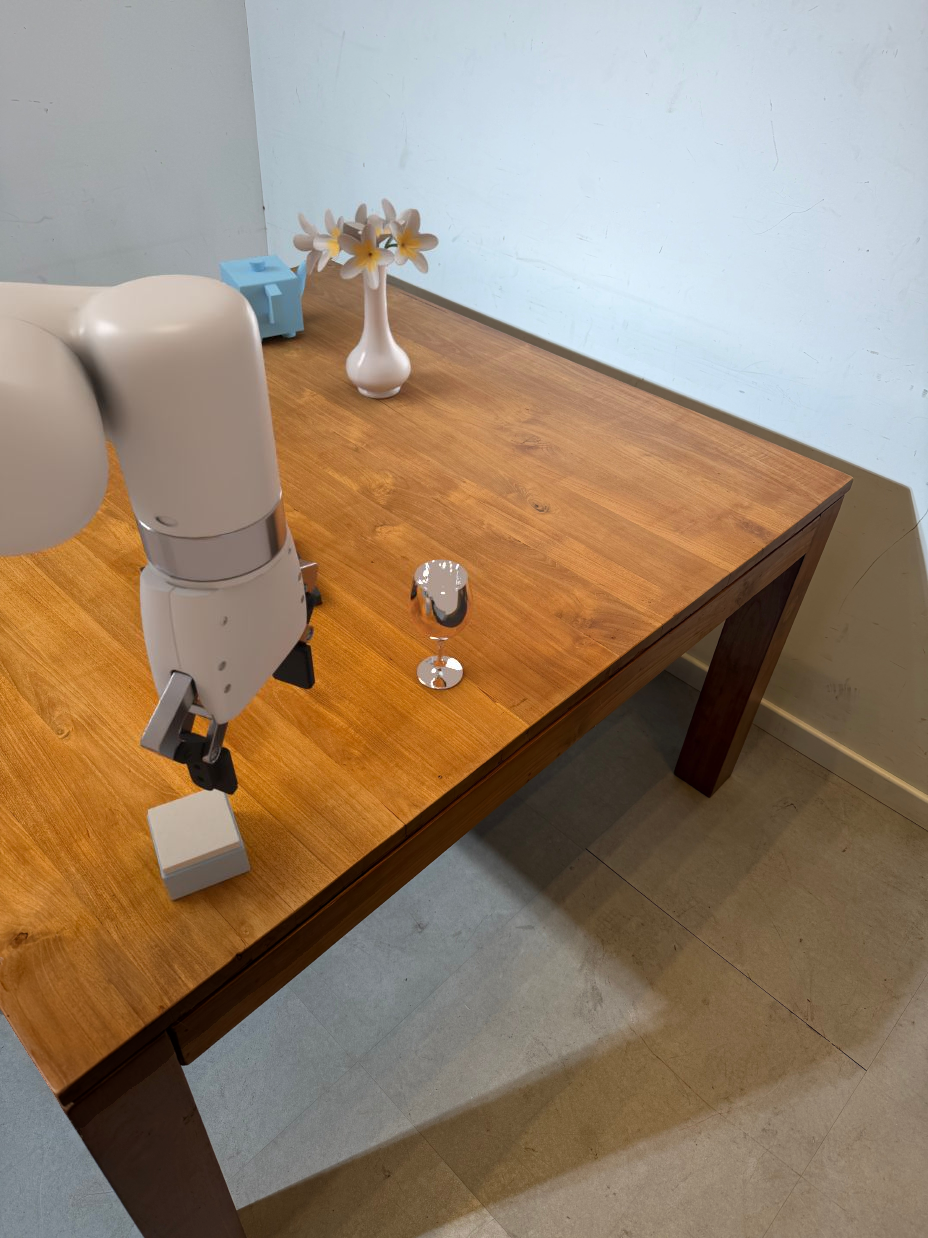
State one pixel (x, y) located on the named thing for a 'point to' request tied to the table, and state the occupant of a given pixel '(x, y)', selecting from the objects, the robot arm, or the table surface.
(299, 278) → the teapot
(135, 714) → the table surface
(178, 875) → the upper pad
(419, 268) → the flower vase
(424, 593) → the wineglass
